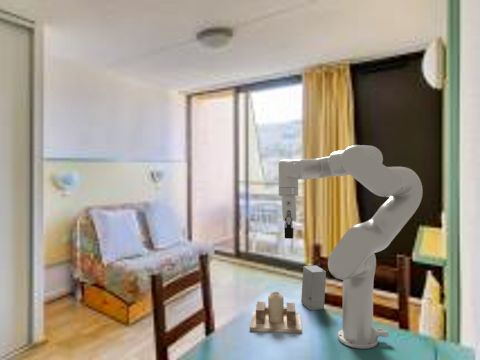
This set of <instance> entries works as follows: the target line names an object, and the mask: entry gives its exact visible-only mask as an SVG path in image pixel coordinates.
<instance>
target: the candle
mask: <svg viewBox="0 0 480 360" xmlns="http://www.w3.org/2000/svg"><path fill="white" fill-rule="evenodd" d="M267 305H268V306H267V307H268V315H269V321H270V322H272V323H281V322H283V320H284V307H285V306H284V296H283V295H282V294H281V293H280V292H278V291H274V292H271V293H270V294H269V296H268V297H267Z"/></svg>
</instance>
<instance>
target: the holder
mask: <svg viewBox="0 0 480 360" xmlns="http://www.w3.org/2000/svg"><path fill="white" fill-rule="evenodd" d="M251 315H252V316H251V319H250V324H249V332H267V333H268V332H269V333H271V332H272V333H293V334H303V332H302V331H303V328H302V321H301V320H302V319H301V312H296V303H295V302H286V306H284V320H283V322H281V323H272V322H270V321H269V315H268V306H266V301H257V302H256V308H255V310H253V311H252V314H251Z"/></svg>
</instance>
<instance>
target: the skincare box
mask: <svg viewBox="0 0 480 360" xmlns="http://www.w3.org/2000/svg"><path fill="white" fill-rule="evenodd" d="M326 276H327V271H326V270H324V269H323V268H321V267H320V266H318V265H315V264H314V265H304V266H302V280H301V281H302V284H301V297H300V298H301V301H300V303H301V304H302V305H303V304H304V305H303V306H305V308H307V309H308V310H310V311H316V310H317V311H318V310H325V299H326V295H325V294H326V284H327V283H326V282H327V281H326V280H327V279H326V278H327V277H326Z"/></svg>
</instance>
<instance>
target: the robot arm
mask: <svg viewBox="0 0 480 360" xmlns="http://www.w3.org/2000/svg"><path fill="white" fill-rule="evenodd" d="M383 161H384V157H383V153H382V151H381V149H379V148H377V147H376V146H373V145H366V144H365V145H364V144H361V145H360V144H355V145H354V144H353V145H350V146H347V147H346V148H345V149H340V150H336V151H333V152H331V153H330V155H329V156H325V157H321V158H320V157H319V158H298V159H282V160H281V159H280V160H279V162H278V197H281V212H282V219H283V223H284V225H283V226H284V239H294V228H293V222H294V223H295V222H297V200H296V199H297V198H296V197H298V196H299V180H311V179H312V180H314V179H322V178H330V177H331V178H332V177H336V178H337V177H342V176H343V177H344V176H351V177H352V178H354V179H355V180H356V181H357V182H359V183H360V184H361V185H362V186H363V187H364V188H365V189H367V190H368V191H369V192H370V193H373V195H376V196H378V197H383V198H388V199H387V200H386V201H385V202H384V203H382V204H381V205H380V207H379V208H378V209H377V211H376V212H375V213H374V215H373V216H372V217H371V218H370V219H368V220H366V221H364V222H360V223H357V224H355V225H352V226H351V227H350V228H349V229H348V230H347V231H345V233H344V234H343V236H342V237H341V239H340V240H339V241H338V243H337V244H336V245H335V246H334V248H333V249H332V251H331V252H330V254H329V256H328V258H327V268H328V271H329V272H330V274H331V275H332V276H333V277H334V278H335V279H338V280H341V281H342V329H339V331H338V332H337V339H338V341H339V342H341V344H343V345H345V346H347V347H350V348H353V349H354V348H355V349H362V350H365V349H371V348H375V347H376V346H377V345H378V343H379V339H378V338H380V337H381V338H389V331H388V330H383V328H382V327H375V326H374V280H375V273H376V267H377V258H376V254H375V253H379V252H382V251H383V250H385V249H386V248H388V247H389V246H390V244H391V242H393V240H394V239H395V238H396V236H398V234H399V233H400V232H401V231H402V229H403V228H404V226H405V225H406V224H407V223H408V222H409V220H410V219H411V218H412V217H413V215H414V214H415V213H416V211H417V210H418V208H419V206H420V204H421V202H422V199H423V185H422V184H423V183H422V181H421V179H420V177H419V176H418V174H417V173H416V172H415V171H414V170H413V169H411V168H410V167H405V166H386V165H385V164H383Z"/></svg>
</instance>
